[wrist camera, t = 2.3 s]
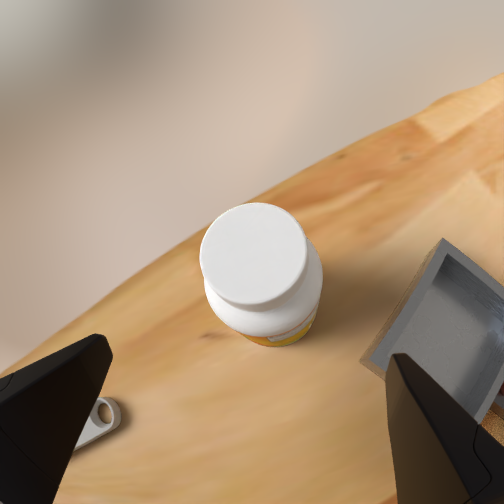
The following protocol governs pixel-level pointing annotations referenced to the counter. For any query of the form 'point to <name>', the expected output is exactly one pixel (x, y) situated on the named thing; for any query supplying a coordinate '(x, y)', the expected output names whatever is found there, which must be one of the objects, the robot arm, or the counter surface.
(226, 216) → the supplement bottle
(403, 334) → the grey rectangular scoop
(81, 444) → the adjustable wrench
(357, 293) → the counter surface
